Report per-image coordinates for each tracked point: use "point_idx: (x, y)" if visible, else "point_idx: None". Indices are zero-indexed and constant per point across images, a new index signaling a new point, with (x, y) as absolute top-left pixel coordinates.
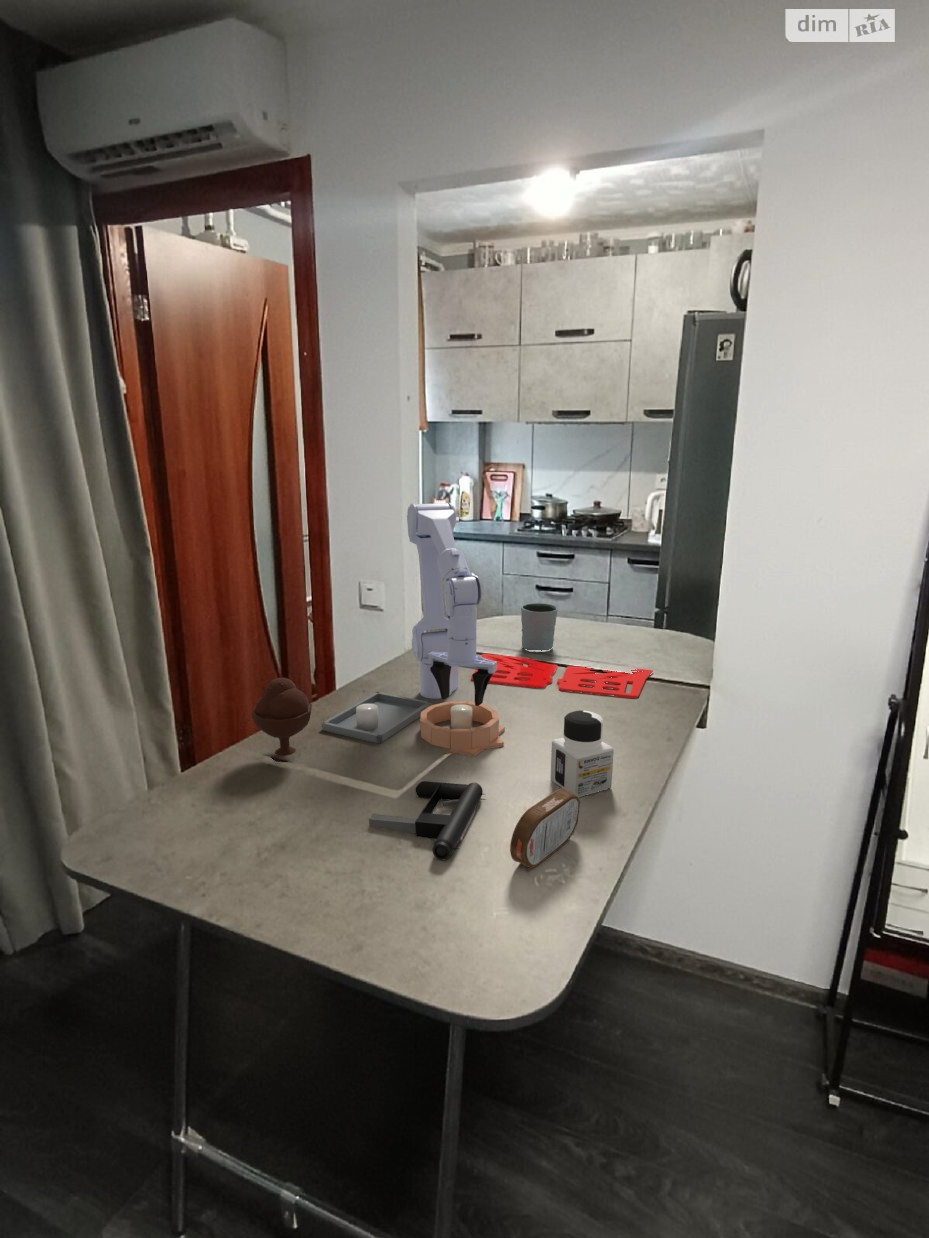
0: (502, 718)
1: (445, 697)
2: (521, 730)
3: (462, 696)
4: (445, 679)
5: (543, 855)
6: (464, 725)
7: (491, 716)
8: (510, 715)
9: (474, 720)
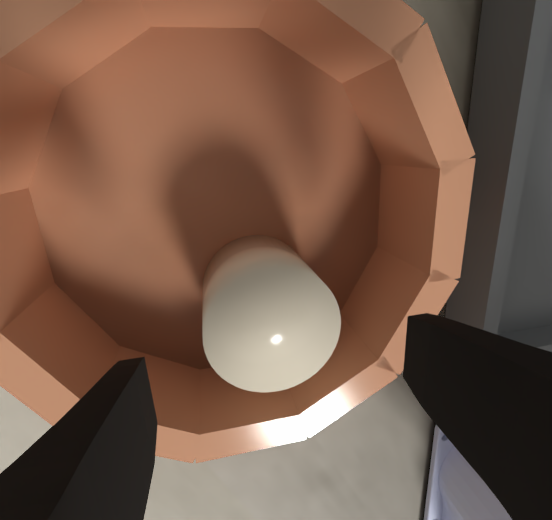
0: (172, 466)
1: (411, 335)
2: (18, 429)
3: (404, 508)
4: (541, 460)
5: None
6: (217, 262)
7: (79, 378)
8: (162, 503)
9: None
